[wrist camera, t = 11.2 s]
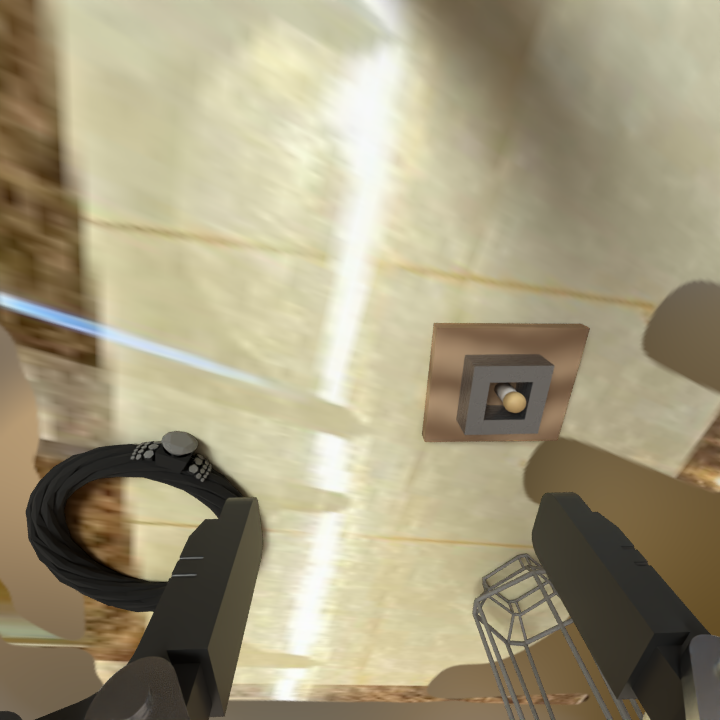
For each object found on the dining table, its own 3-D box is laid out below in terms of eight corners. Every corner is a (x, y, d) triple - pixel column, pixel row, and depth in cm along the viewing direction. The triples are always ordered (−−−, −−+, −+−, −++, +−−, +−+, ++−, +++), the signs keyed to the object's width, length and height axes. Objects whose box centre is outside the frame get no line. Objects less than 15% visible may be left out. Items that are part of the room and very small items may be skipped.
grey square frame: (464, 354, 37) (474, 366, 35) (539, 354, 38) (554, 365, 35) (456, 419, 40) (464, 434, 38) (524, 418, 41) (537, 433, 38)
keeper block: (433, 323, 37) (448, 341, 32) (580, 323, 38) (618, 342, 33) (422, 434, 43) (432, 465, 38) (550, 433, 44) (578, 463, 38)
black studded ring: (4, 589, 45) (33, 404, 35) (29, 562, 49) (61, 386, 39) (216, 638, 51) (294, 490, 41) (225, 610, 55) (298, 467, 44)
